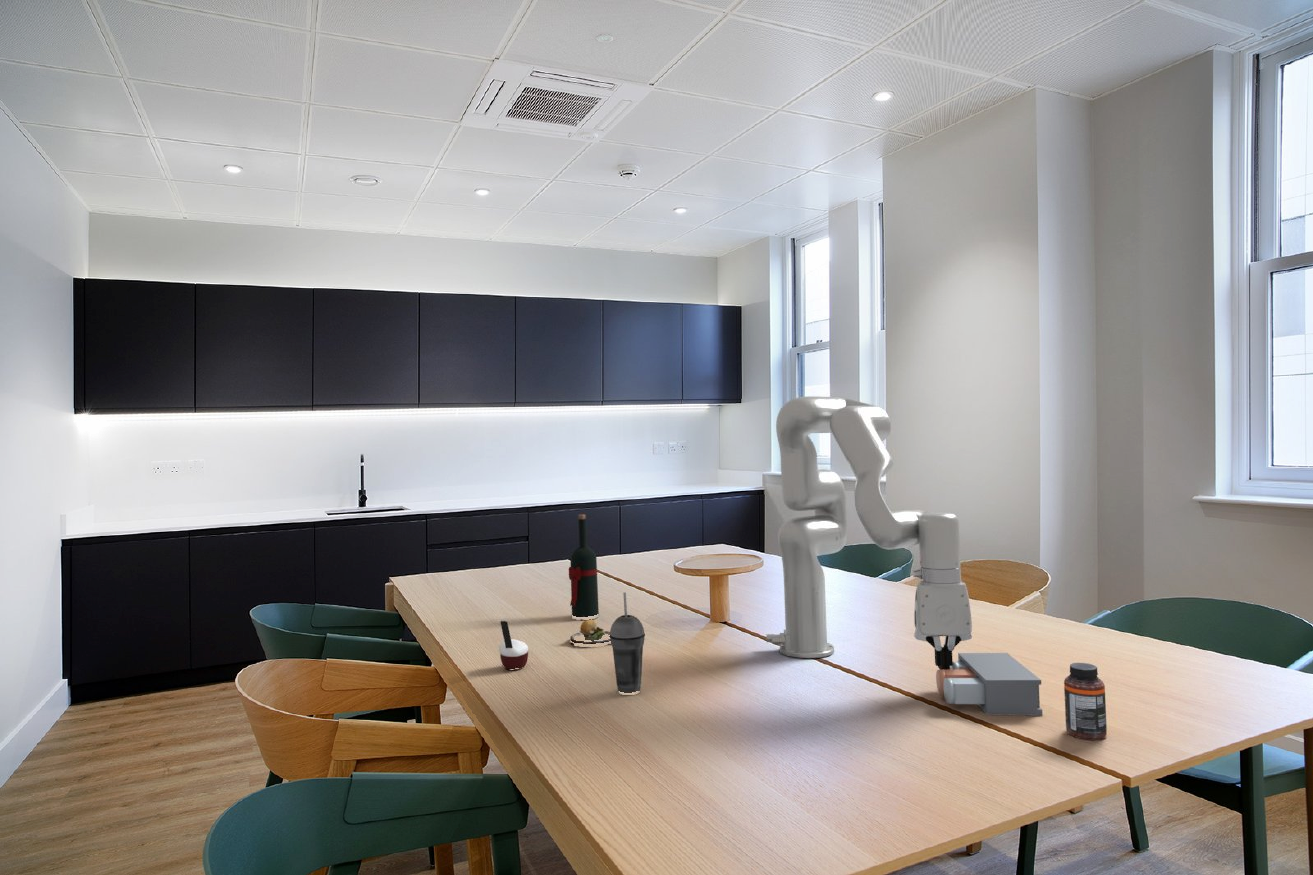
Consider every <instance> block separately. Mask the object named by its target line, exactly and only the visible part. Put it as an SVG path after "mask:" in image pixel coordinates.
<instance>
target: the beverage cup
mask: <svg viewBox="0 0 1313 875" xmlns="http://www.w3.org/2000/svg"><path fill="white" fill-rule="evenodd" d="M622 594H623V595H622V596H623V609H624V611H623V612H624V614H623V615H621V616H619V617H617V618H616V619H615V620H614V621H613V623H612V624H611V626H610V630H609V632H610V636H609V637H610V639H611V644H612V645H611V644H610V645H611V648H612V654H613V661H614V672H615V679H616V680H615V681H616V687H617V692H618V691H620V692H624V693H632V692H636V691H640V692H641V688H642V687H641V686H642V673H643V671H642V670H643V652H644V651H643V650H644V644H645V637H646V634H645V629H644V625H643V624H642V622H641V620H640V619H639V618H638V617H636V616H634V615H631V614H628V607H627V606H628V605H627V593H626V591H625V592H623V593H622Z"/></svg>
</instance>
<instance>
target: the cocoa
mask: <svg viewBox="0 0 1313 875" xmlns="http://www.w3.org/2000/svg"><path fill="white" fill-rule="evenodd" d="M500 627H501V632H502V636H503V641H502V642H501V643H500V645H499V646H498V652H499V654H500V655H499V656H500V661H501V663H502V666H503V667H504V668H505V669H506V668H508V669H515V668H521V669H523V668H524V667H526V665H527V663H528V660H529V659H528V658H529V646H528V645H527V643H525V641H522V640H518V639H515V638H514V639H513V638H511V633H510V628H509V623H508V621H506V620H500ZM522 667H523V668H522ZM508 669H507V670H508Z"/></svg>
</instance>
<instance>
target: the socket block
mask: <svg viewBox="0 0 1313 875" xmlns="http://www.w3.org/2000/svg"><path fill="white" fill-rule="evenodd" d="M957 657H958V658H957V660H958V661H963V662H964V663H965V664H966V665H967V669H971V670H972V671H973V672H974V673H975V678H980V679H981V680H982V681H983V682H984V694H985V704H977V706H979V708H980V710H982V711H983V712H984V713H985V714H986V716H1043V708H1041V705H1040V685H1042V679H1041V678H1039V676H1037V675H1036V674H1034V673H1033V672H1032V671H1030V670H1029V669H1028V668H1027V667H1025V666H1024V665H1023V664H1022V663H1021V662H1019V661H1018V660H1016V659H1015V658H1014V657H1013V656H1012V655H1010V654H1009V653H1008V652H958V653H957Z"/></svg>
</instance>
